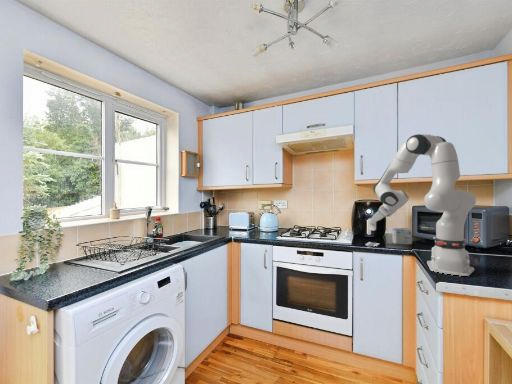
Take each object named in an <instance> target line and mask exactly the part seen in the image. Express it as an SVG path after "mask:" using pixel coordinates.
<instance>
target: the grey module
mask: <svg viewBox="0 0 512 384" xmlns="http://www.w3.org/2000/svg"><path fill="white" fill-rule="evenodd" d="M371 218H372V217H369V218H368V219H367V220H368V221H367V225H368V226H367V227H368V229H367V230H368V231H376V230H377V222H374V223H373V224H371V225H370V224H369V222H371V220H372V219H371Z"/></svg>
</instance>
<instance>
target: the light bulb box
mask: <svg viewBox="0 0 512 384" xmlns="http://www.w3.org/2000/svg"><path fill="white" fill-rule="evenodd" d="M412 234H413V231H412V228H408V227H392V243H394V244H396V245H412V244H413V235H412Z"/></svg>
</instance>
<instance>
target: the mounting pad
mask: <svg viewBox="0 0 512 384" xmlns="http://www.w3.org/2000/svg"><path fill="white" fill-rule="evenodd" d="M379 245H380V243H379V242H378V243H377V242H371V241H368V242H367V243H365V246H368V247H369V246H370V247H375V246H376V247H378V246H379Z"/></svg>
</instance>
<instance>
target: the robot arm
mask: <svg viewBox="0 0 512 384" xmlns="http://www.w3.org/2000/svg"><path fill="white" fill-rule="evenodd" d="M419 156H428V157H429V158H430V163H431V172H432V181H431V182H432V183H431V187H430V189H429V191H428V192H427V193H426V194H425V195H424V198H423V204H424V206H425V208H426V209H428V210H429V211H433V212H438V213H443V214H442V215H441V217H440V218H439V219H438V220H437V221H436V223H435V237H434V246H433V247H431V256H430V259H431V260H427V262H426V264H427V266H428V267H429V270H430V271H431V272H433V271H434V273H437V272H439V273H438V274H442V273H444V274H443V275H447V274H451V275H450V276H453V275H459V276H458V277H461V276H468V277H470V275H471V274H472V273H473V272H474V271H475V268H474V267H473V266H470V265H471V260H470V257H471V256H470V254H469V251H468V250H466V249H465V248H466V242H465V241H466V240H465V239H464V238H465V237H464V234H465V223H466V220H467V216H468V215H469V212H470V211H471V210H472V208H474V207H475V205H476V203H477V199H476V196H475V195H474V193H472V192H471V191H467V190H464V189H455V186H456V185H455V184H456V183H457V181H458V180H459V179H460V178H461V171H460V165H459V164H460V163H459V157H458V154H457V151H456V147H455V146H454V144H453V143H452V142H450V141H447V140H446V139H445V138H444V137H442V136H439V135H431V134H421V133H419V134H413V135H411V136H410V137H409V138H407V140H406V141H405V142H403V143H402V145H401V146H400V147H399V148H398V151H396V154H395V155H394V158H393V160H392V162H391V163H390V164H389V165H388V166H387V168H386V169H385V171H384V173H382V176H381V178H380V179H379V181H377V182H376V183H375V185H374V186H373V187H372V188H373V193H374V194H375V195H376V197H377V198H378V199H379V201H380V202H381V203H382V205H380V206H379V208H378V209H377V211H376V212H375V213H374V214H373V215H372V216H371V217H370V218H371V219H372V220H371V222H369V224H370V225H371V224H373V223H374V222H376V223H377V222H378V221H382V219H384V218H387V217H392V215H394V214H395V213H396V212H397V211H398V210H399V209H401V208H402V207H403V206H404V205H406V204H407V203H408V201H409V199H410V197H409V196H408V195H407V193H406V192H405V191H404V190H402V189H400V190H394V189H392V188H391V186H390V183H391V182H392V180H393V178H394V177H395V176H396V174H405V173H408V172H410V171H411V169H412V168H413V166H414V165H415V163H416V160H417V159H418V157H419Z"/></svg>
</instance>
